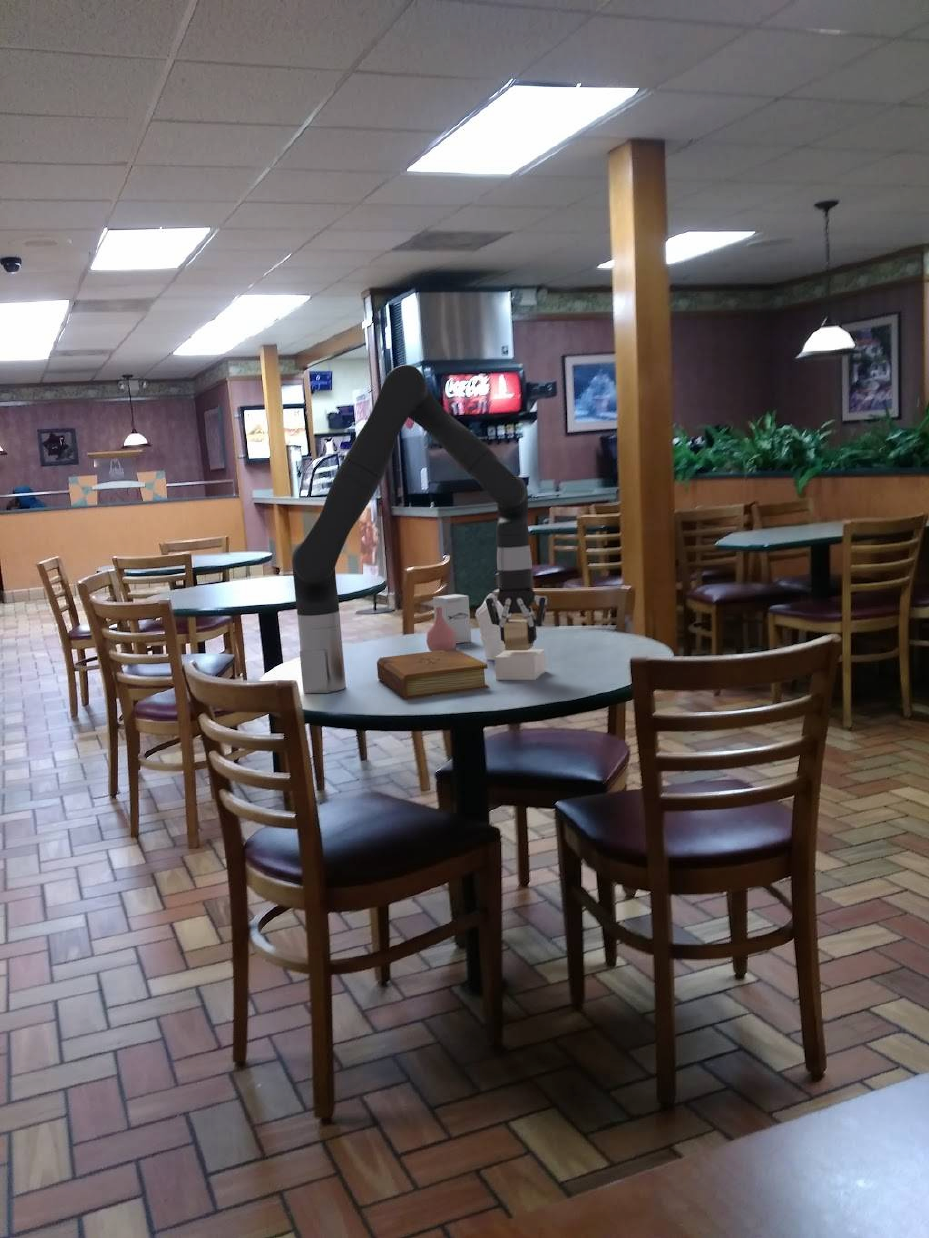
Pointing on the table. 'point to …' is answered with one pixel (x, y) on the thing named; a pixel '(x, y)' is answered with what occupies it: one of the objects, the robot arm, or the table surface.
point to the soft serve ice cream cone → (490, 630)
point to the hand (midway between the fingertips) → (519, 642)
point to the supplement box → (455, 614)
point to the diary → (432, 673)
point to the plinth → (520, 664)
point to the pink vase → (440, 634)
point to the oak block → (516, 635)
